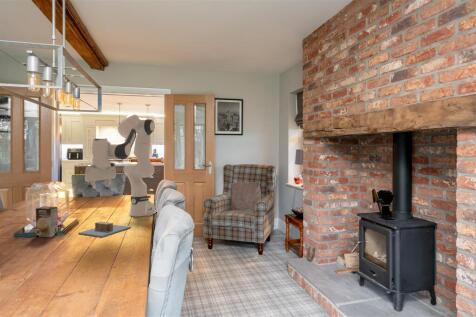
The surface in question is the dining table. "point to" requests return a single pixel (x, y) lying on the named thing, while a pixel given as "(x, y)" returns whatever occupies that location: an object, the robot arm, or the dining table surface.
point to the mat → (104, 233)
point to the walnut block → (103, 226)
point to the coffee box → (46, 221)
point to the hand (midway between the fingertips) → (101, 187)
